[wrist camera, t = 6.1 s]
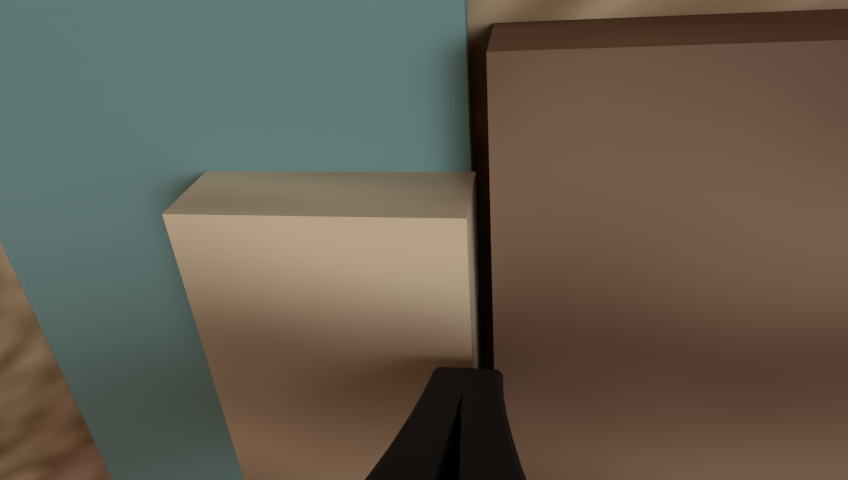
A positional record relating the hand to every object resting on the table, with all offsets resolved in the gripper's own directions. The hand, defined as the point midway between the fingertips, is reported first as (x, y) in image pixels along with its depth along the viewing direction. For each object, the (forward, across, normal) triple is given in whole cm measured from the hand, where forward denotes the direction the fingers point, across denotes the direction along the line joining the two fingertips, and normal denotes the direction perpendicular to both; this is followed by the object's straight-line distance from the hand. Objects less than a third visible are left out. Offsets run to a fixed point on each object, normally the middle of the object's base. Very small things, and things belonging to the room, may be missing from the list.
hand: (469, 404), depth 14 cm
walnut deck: (+3, -6, 0) cm, 6 cm away
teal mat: (+3, +6, 0) cm, 7 cm away
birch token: (+2, +3, 0) cm, 4 cm away
